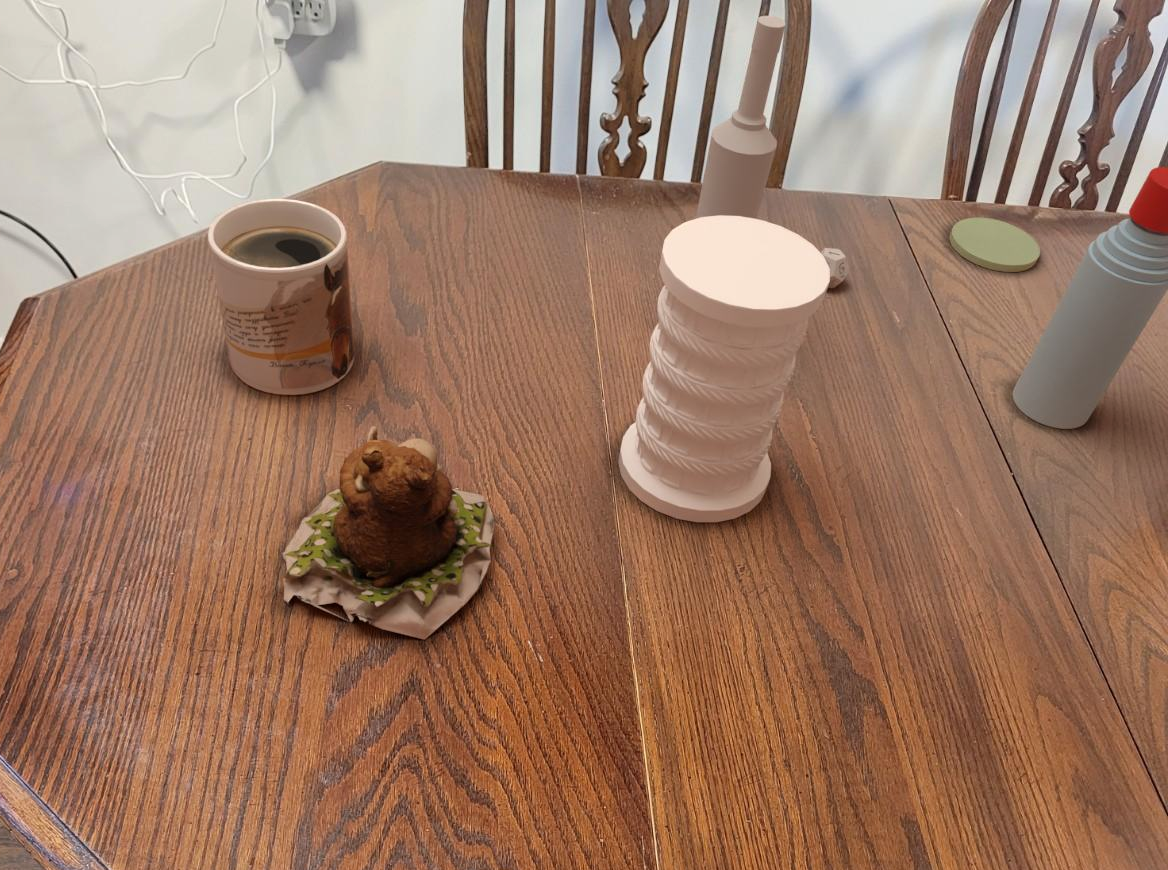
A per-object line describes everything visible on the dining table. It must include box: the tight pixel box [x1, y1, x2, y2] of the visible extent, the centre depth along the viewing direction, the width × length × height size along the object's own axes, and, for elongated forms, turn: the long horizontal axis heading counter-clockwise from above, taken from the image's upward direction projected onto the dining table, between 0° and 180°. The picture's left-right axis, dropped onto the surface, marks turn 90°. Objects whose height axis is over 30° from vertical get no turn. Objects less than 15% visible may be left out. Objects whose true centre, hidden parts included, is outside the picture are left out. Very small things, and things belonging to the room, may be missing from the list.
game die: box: [819, 247, 851, 289], centre depth 98 cm, size 4×4×3 cm
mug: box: [207, 198, 355, 396], centre depth 81 cm, size 10×12×11 cm
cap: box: [1128, 166, 1168, 233], centre depth 76 cm, size 4×4×3 cm
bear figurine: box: [282, 425, 496, 640], centre depth 67 cm, size 14×15×12 cm
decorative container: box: [617, 215, 830, 523], centre depth 73 cm, size 12×12×18 cm
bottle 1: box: [695, 15, 786, 219], centre depth 84 cm, size 5×5×25 cm
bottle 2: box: [1012, 216, 1168, 430], centre depth 83 cm, size 7×7×20 cm
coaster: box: [948, 217, 1041, 273], centre depth 107 cm, size 9×9×1 cm
